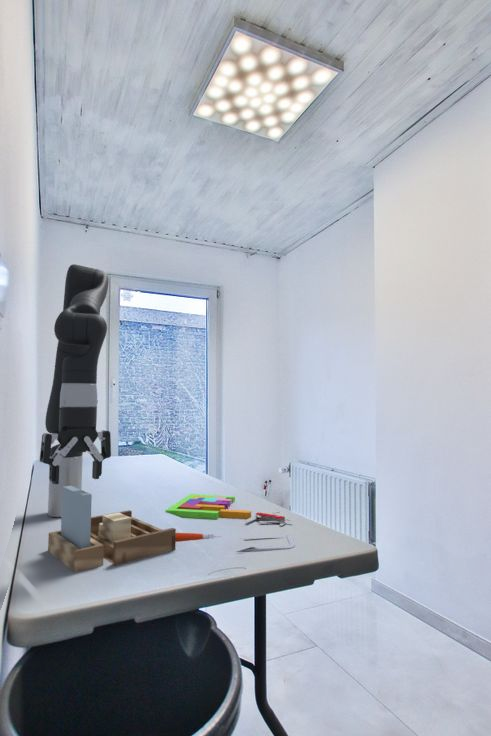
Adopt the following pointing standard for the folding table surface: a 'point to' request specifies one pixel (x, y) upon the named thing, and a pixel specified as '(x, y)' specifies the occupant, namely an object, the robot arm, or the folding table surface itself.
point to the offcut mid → (114, 533)
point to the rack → (135, 541)
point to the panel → (76, 516)
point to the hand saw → (211, 536)
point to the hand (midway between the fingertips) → (75, 481)
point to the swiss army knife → (269, 518)
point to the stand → (75, 552)
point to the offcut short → (116, 521)
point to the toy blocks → (207, 507)
